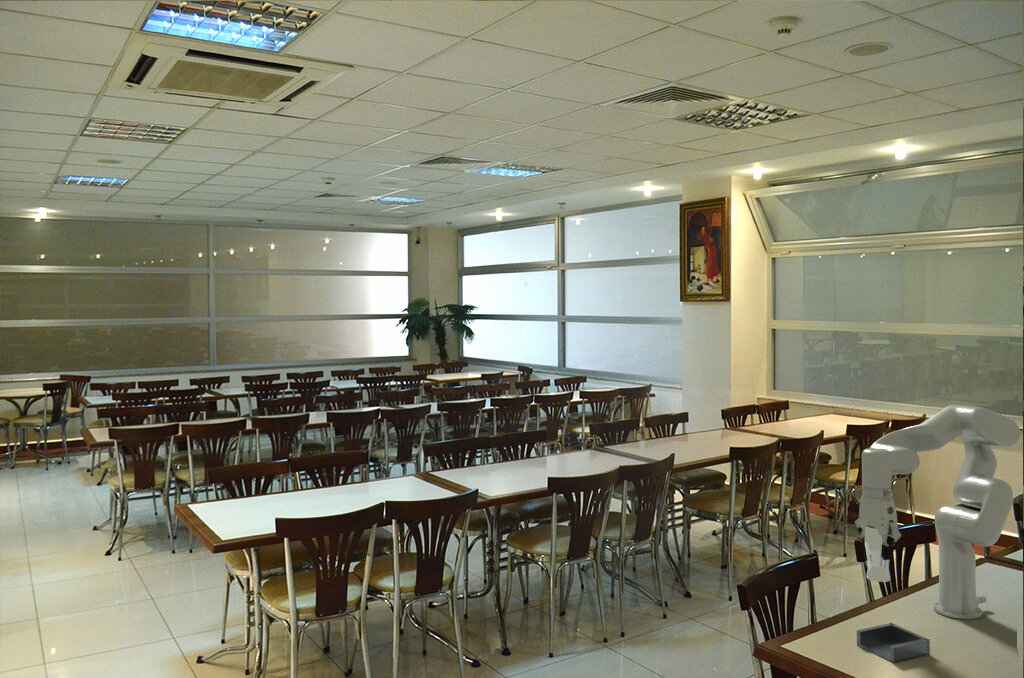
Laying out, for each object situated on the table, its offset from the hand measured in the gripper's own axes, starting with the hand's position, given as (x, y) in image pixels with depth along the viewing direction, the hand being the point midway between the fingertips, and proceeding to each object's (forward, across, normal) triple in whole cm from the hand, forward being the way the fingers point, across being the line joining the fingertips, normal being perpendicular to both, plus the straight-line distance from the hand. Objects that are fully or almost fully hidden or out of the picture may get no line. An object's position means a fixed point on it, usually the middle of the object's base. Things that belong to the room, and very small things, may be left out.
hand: (877, 555), depth 222 cm
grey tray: (+22, -11, +6) cm, 25 cm away
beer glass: (+7, 0, 0) cm, 7 cm away
